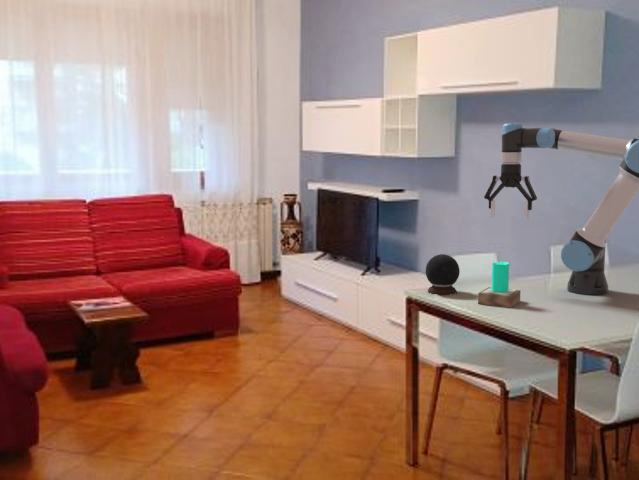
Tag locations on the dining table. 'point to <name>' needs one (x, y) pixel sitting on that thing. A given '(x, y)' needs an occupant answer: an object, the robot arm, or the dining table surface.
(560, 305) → the dining table surface
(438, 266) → the smart speaker
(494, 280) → the candle
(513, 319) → the dining table surface
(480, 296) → the plinth
